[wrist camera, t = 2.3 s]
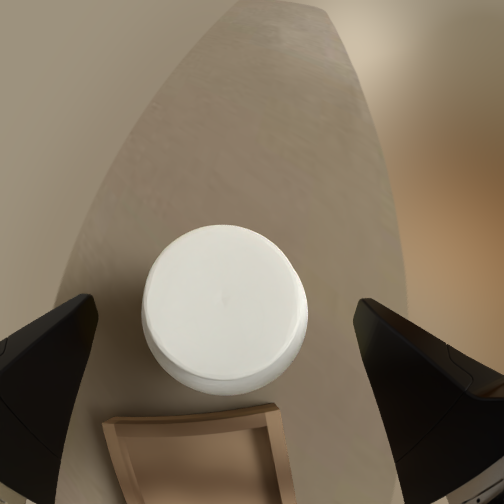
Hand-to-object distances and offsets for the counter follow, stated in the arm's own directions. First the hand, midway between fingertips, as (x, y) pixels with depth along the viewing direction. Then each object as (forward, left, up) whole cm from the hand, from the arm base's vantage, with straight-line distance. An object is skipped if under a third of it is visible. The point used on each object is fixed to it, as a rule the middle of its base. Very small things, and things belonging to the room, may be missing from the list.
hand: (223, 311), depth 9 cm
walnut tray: (-10, +3, -8) cm, 13 cm away
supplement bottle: (0, 0, -8) cm, 8 cm away
